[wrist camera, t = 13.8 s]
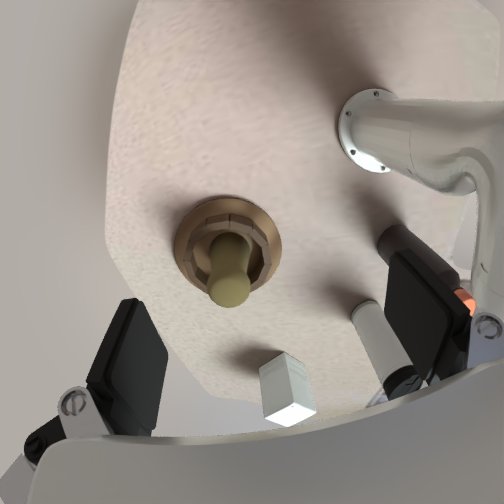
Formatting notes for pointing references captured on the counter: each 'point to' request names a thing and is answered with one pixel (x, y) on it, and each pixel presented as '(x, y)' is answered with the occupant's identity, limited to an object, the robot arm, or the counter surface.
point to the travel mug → (385, 351)
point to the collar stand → (221, 221)
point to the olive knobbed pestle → (229, 270)
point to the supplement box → (285, 391)
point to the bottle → (404, 238)
